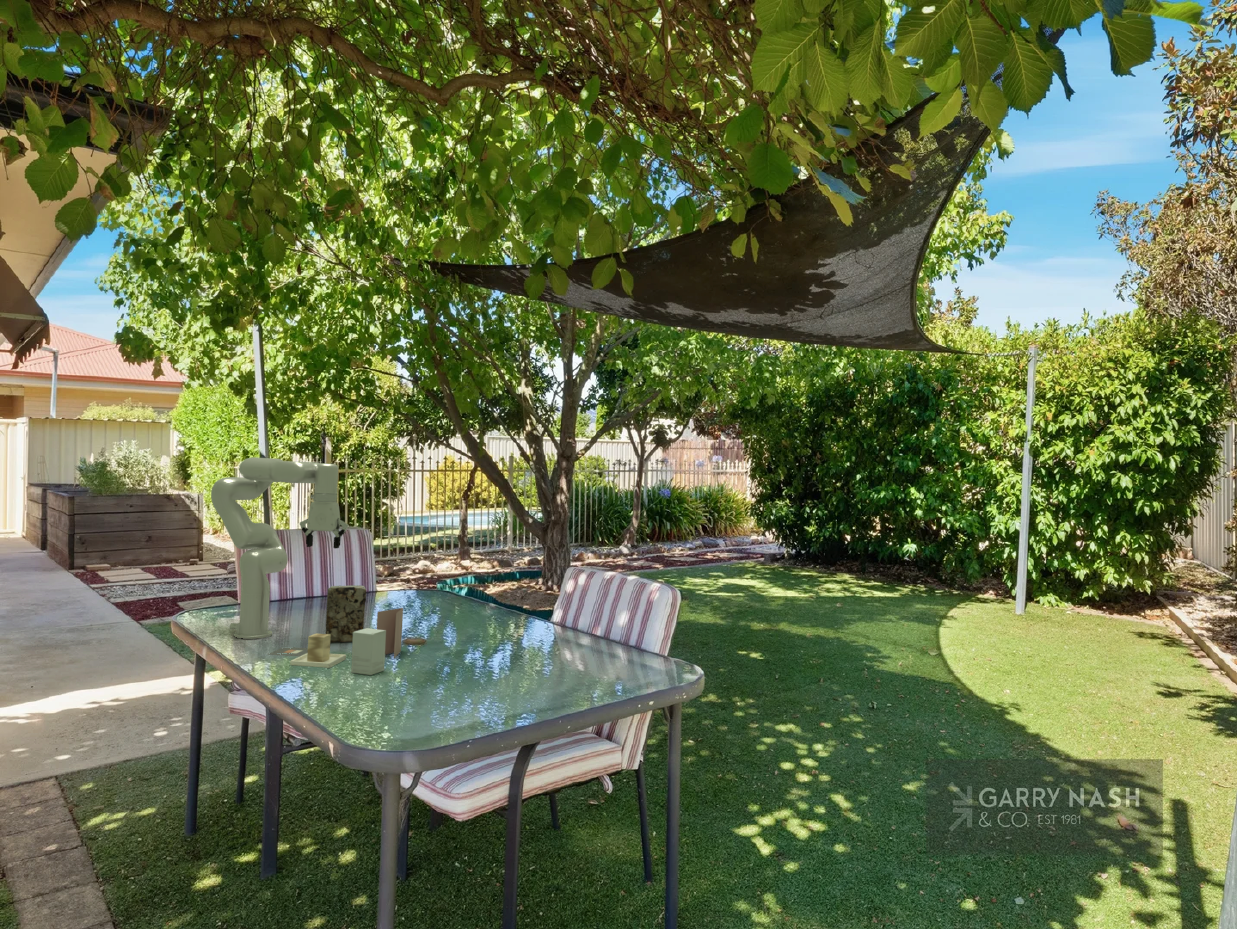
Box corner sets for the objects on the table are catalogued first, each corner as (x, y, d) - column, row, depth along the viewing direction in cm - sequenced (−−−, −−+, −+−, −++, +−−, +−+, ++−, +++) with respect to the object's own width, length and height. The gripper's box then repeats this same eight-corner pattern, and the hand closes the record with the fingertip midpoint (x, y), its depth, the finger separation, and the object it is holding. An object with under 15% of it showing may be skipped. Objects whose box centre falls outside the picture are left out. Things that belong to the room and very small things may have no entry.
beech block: (307, 661, 251) (308, 636, 251) (314, 658, 256) (315, 633, 256) (322, 662, 250) (323, 637, 250) (329, 659, 255) (330, 634, 255)
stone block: (361, 638, 290) (364, 584, 291) (364, 642, 284) (367, 587, 284) (323, 640, 284) (326, 585, 284) (326, 644, 278) (329, 587, 278)
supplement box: (385, 670, 247) (387, 630, 247) (370, 675, 240) (372, 634, 240) (365, 667, 249) (367, 627, 249) (350, 672, 242) (352, 631, 242)
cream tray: (289, 665, 247) (290, 660, 247) (308, 656, 260) (308, 652, 260) (329, 668, 246) (329, 663, 246) (345, 659, 259) (346, 654, 259)
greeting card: (399, 650, 274) (401, 607, 274) (414, 654, 270) (416, 610, 271) (373, 656, 264) (375, 611, 265) (389, 659, 260) (391, 614, 261)
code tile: (266, 655, 259) (266, 654, 259) (284, 647, 271) (284, 646, 271) (301, 657, 258) (301, 656, 258) (318, 649, 270) (318, 648, 270)
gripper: (296, 497, 274) (293, 547, 274) (344, 500, 273) (342, 549, 273) (306, 497, 282) (304, 545, 281) (353, 499, 280) (351, 547, 280)
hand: (322, 547), depth 277 cm, fingers open, 9 cm apart
